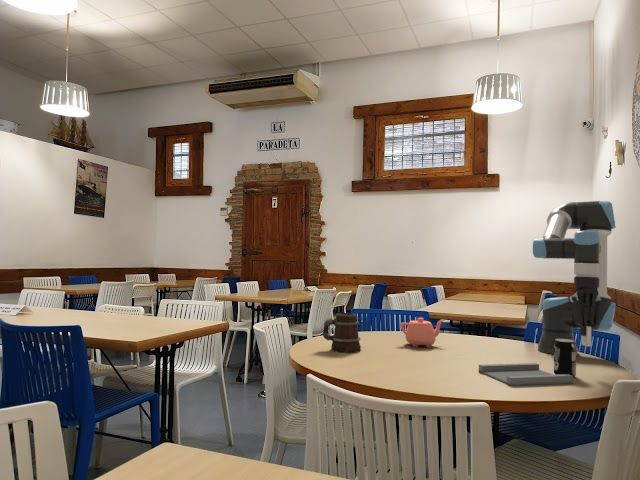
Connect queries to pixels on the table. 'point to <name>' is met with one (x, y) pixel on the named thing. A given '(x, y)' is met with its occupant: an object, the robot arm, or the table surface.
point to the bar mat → (523, 374)
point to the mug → (343, 333)
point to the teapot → (420, 332)
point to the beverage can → (564, 357)
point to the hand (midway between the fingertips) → (586, 345)
